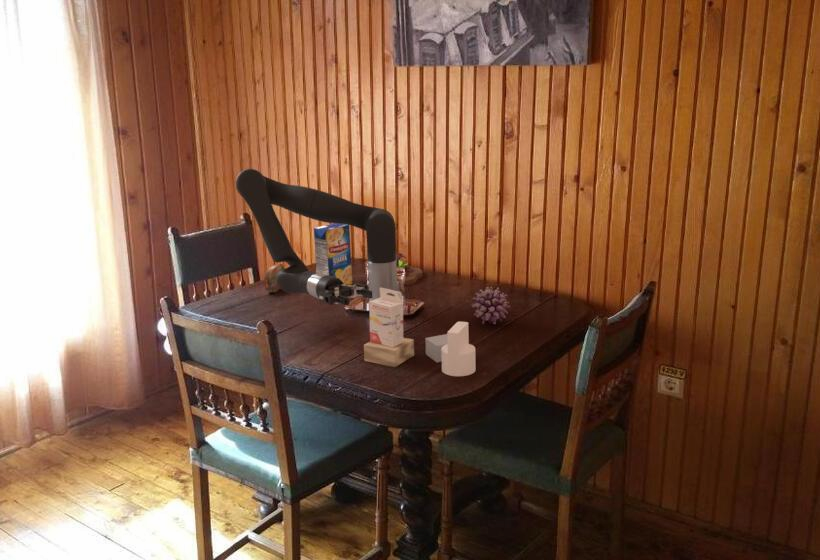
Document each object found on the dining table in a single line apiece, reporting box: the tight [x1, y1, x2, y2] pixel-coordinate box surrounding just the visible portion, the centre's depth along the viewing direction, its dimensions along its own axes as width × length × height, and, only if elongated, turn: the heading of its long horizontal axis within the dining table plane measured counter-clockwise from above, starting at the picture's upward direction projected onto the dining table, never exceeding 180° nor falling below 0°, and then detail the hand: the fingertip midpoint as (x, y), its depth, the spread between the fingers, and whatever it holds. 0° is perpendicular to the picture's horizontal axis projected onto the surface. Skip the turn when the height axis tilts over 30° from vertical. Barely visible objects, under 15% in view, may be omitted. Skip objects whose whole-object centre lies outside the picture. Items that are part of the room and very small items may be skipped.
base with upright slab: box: [441, 321, 477, 377], centre depth 216 cm, size 9×9×12 cm
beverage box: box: [313, 223, 353, 285], centre depth 293 cm, size 7×11×22 cm, turn 137°
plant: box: [396, 253, 424, 286], centre depth 302 cm, size 20×20×11 cm
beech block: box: [363, 336, 415, 368], centre depth 226 cm, size 10×10×5 cm
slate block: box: [424, 333, 448, 363], centre depth 226 cm, size 7×7×5 cm
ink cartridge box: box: [368, 288, 404, 347], centre depth 223 cm, size 9×5×15 cm, turn 52°
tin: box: [263, 263, 285, 293], centre depth 293 cm, size 15×3×8 cm, turn 168°
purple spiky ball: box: [471, 286, 511, 325], centre depth 250 cm, size 12×12×12 cm
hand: (360, 298), depth 231 cm, fingers open, 8 cm apart
